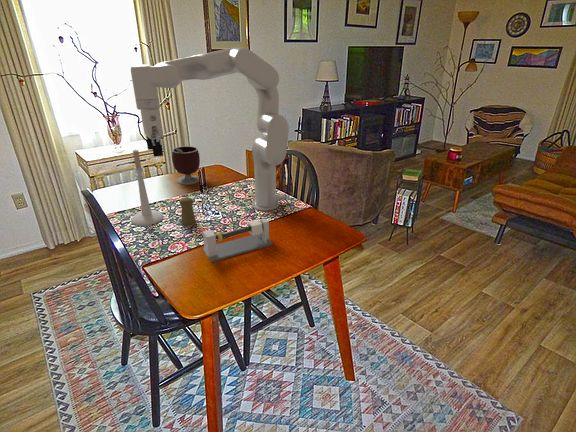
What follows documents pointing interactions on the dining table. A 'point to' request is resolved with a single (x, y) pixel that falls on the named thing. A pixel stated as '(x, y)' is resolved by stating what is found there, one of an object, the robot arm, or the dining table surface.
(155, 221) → the candlestick
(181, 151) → the mate gourd
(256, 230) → the sleeve
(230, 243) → the grey rod stand
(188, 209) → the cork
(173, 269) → the dining table surface
